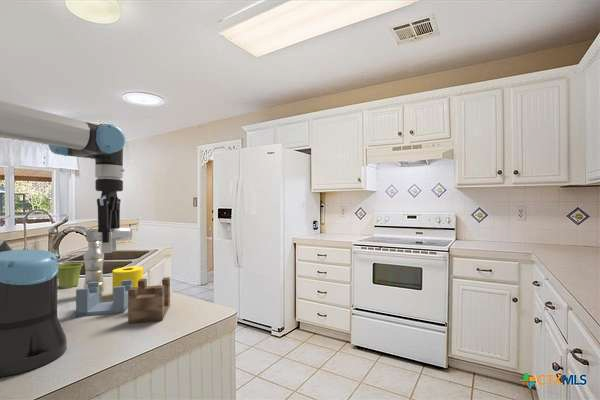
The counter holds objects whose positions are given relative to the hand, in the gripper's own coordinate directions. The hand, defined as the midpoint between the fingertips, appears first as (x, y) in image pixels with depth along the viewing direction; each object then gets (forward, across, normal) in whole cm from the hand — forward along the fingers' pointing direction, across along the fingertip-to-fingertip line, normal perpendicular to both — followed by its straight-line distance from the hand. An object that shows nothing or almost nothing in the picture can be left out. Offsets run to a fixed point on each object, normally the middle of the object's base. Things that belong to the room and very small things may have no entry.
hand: (109, 251), depth 97 cm
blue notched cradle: (+19, 0, +1) cm, 19 cm away
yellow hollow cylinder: (+19, +16, -1) cm, 25 cm away
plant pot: (+19, +34, +26) cm, 47 cm away
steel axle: (-3, 0, 0) cm, 3 cm away
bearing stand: (+19, -8, -14) cm, 24 cm away
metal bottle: (+19, +18, +11) cm, 29 cm away
